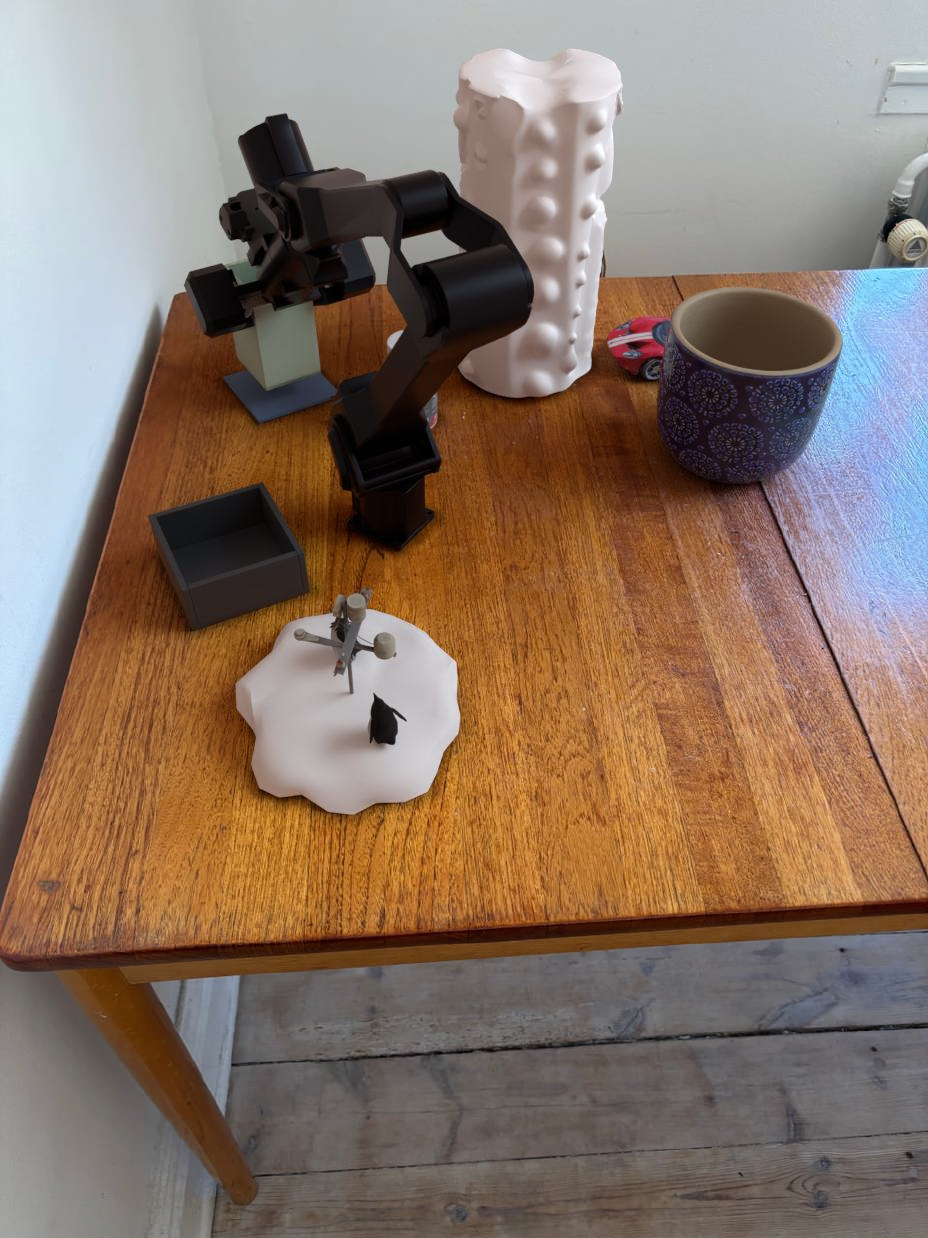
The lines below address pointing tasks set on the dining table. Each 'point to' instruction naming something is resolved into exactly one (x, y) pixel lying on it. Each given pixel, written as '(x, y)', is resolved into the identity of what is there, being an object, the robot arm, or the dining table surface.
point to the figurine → (350, 708)
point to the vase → (541, 201)
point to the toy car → (640, 345)
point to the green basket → (276, 339)
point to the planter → (744, 381)
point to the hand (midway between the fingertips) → (266, 310)
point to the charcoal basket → (229, 555)
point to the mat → (279, 395)
